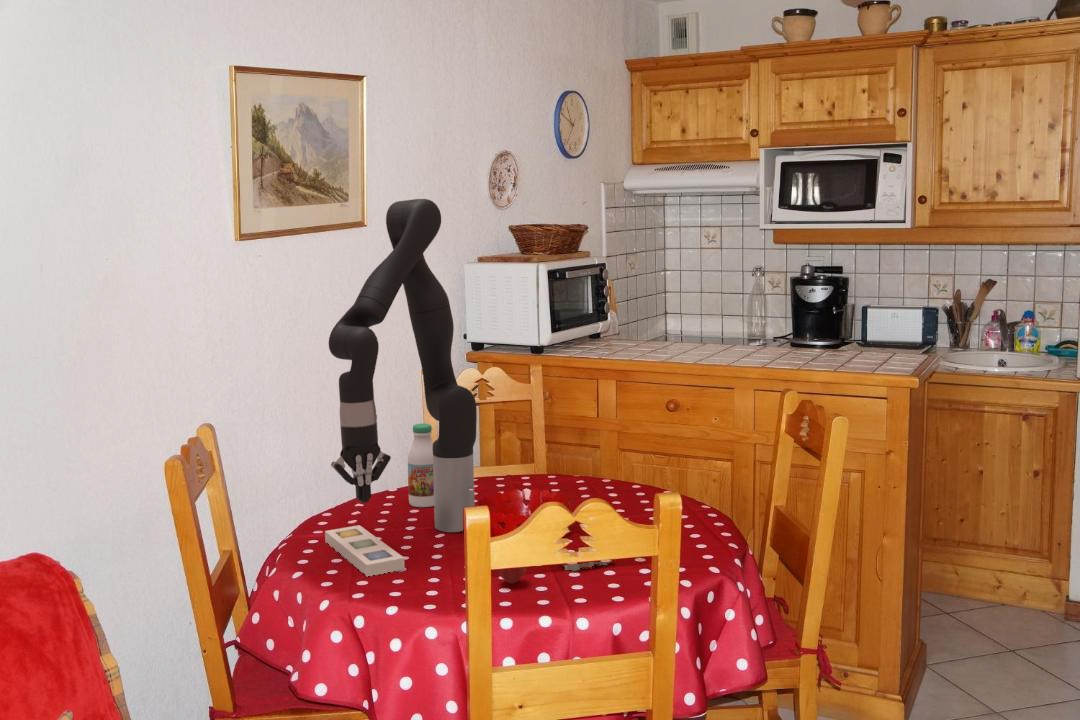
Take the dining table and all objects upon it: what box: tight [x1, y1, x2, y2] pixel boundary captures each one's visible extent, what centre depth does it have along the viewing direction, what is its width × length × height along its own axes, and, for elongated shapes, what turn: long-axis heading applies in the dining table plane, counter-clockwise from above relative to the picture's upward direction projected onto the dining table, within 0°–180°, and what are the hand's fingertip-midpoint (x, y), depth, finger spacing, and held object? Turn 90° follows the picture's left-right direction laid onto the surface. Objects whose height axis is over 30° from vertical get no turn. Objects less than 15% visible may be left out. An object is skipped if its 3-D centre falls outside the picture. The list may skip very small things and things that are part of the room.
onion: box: [497, 567, 528, 585], centre depth 204 cm, size 6×6×8 cm
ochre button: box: [340, 530, 359, 538], centre depth 230 cm, size 4×4×2 cm
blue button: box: [368, 551, 388, 561], centre depth 215 cm, size 4×4×2 cm
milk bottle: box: [407, 423, 434, 508], centre depth 259 cm, size 8×8×20 cm
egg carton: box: [562, 561, 611, 572], centre depth 215 cm, size 11×8×4 cm
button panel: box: [324, 524, 405, 578], centre depth 222 cm, size 8×26×2 cm, turn 30°
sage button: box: [353, 540, 373, 549], centre depth 222 cm, size 4×4×2 cm
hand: (363, 501), depth 221 cm, fingers closed
